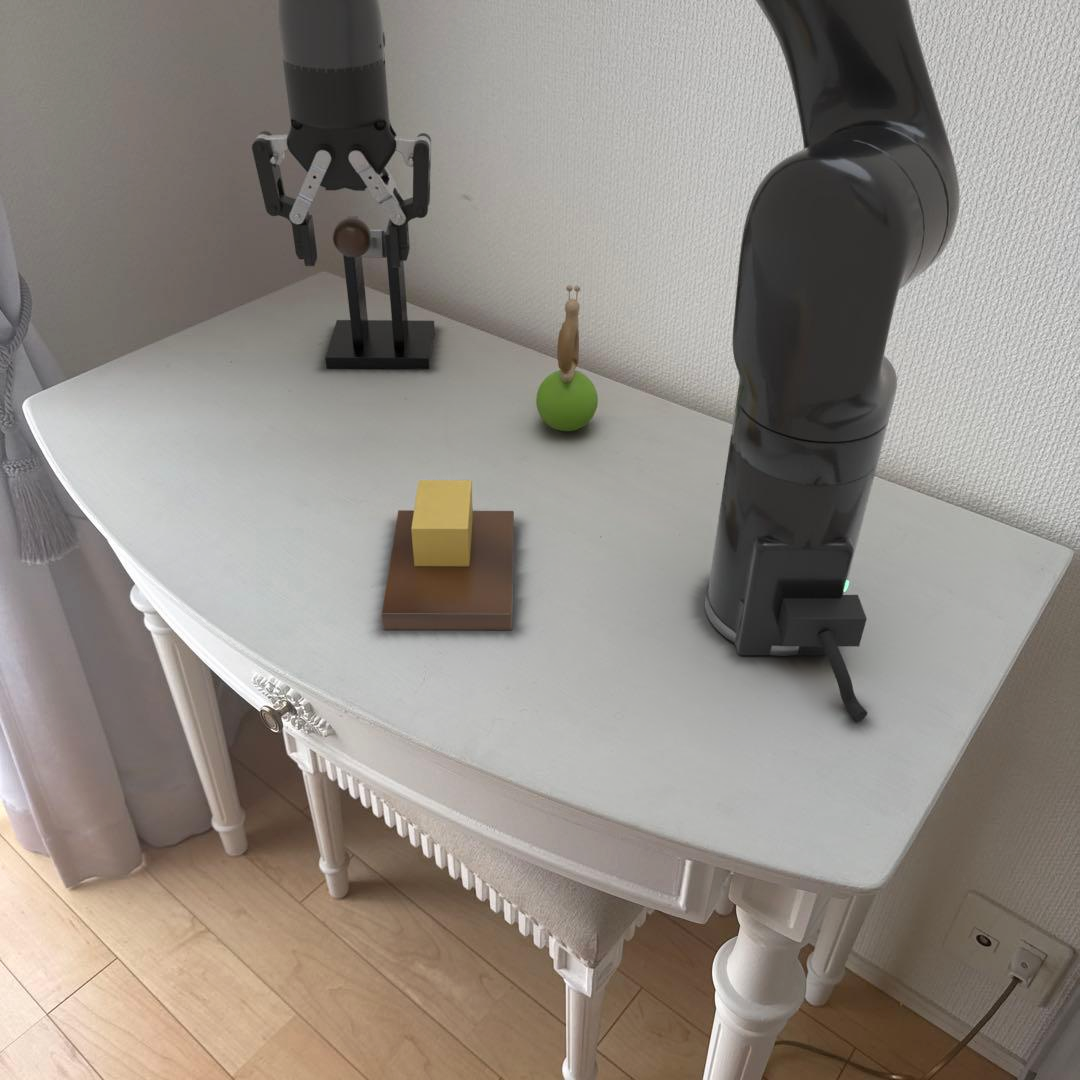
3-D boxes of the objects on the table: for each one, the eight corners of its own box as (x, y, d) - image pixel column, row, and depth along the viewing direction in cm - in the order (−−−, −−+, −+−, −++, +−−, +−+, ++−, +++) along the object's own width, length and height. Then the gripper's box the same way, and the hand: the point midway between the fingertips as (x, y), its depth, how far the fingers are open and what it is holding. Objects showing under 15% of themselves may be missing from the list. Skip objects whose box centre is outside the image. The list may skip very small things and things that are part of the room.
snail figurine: (598, 407, 97) (605, 285, 89) (594, 444, 92) (601, 319, 84) (540, 403, 97) (542, 282, 90) (532, 440, 92) (534, 315, 85)
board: (512, 630, 73) (512, 614, 72) (382, 629, 73) (381, 613, 72) (513, 525, 82) (513, 510, 82) (399, 525, 82) (398, 509, 81)
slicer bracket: (429, 369, 102) (421, 242, 94) (326, 368, 102) (310, 242, 94) (434, 331, 108) (428, 209, 100) (338, 330, 108) (323, 208, 100)
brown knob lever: (369, 257, 85) (368, 216, 85) (330, 256, 85) (328, 215, 85) (392, 262, 100) (391, 227, 99) (358, 261, 100) (357, 226, 99)
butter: (469, 566, 76) (467, 528, 74) (414, 566, 76) (411, 528, 74) (472, 517, 81) (471, 480, 79) (421, 516, 81) (418, 479, 79)
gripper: (224, 62, 74) (260, 281, 85) (426, 65, 75) (437, 283, 85) (246, 37, 80) (277, 244, 91) (433, 39, 81) (443, 246, 91)
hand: (354, 262), depth 88 cm, fingers open, 6 cm apart
